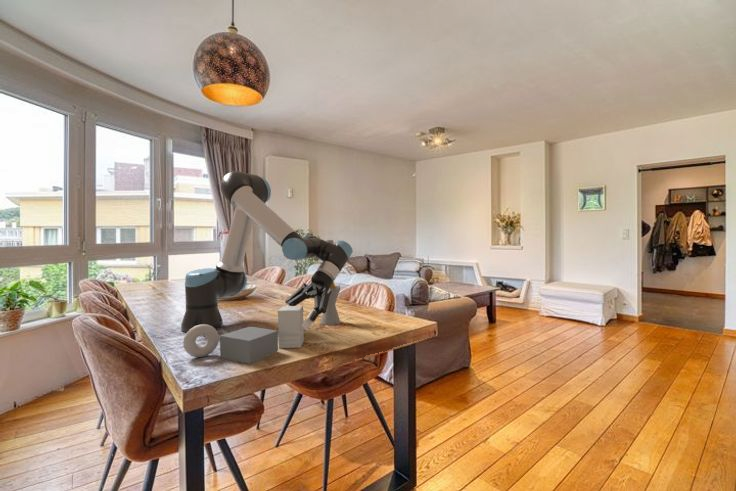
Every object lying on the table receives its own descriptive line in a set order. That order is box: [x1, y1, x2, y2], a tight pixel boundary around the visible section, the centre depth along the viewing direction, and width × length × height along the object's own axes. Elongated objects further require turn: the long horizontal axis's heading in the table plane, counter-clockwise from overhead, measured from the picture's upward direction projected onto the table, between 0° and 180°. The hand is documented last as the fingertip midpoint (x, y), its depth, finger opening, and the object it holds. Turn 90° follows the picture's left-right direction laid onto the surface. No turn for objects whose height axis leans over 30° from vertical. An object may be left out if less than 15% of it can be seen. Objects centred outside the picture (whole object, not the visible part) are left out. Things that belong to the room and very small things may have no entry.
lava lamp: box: [319, 239, 341, 326], centre depth 149 cm, size 9×9×35 cm
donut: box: [182, 324, 220, 358], centre depth 108 cm, size 10×3×10 cm, turn 124°
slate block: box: [219, 326, 279, 365], centre depth 109 cm, size 12×12×7 cm
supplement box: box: [277, 305, 305, 349], centre depth 119 cm, size 7×7×13 cm
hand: (291, 325), depth 118 cm, fingers open, 13 cm apart
